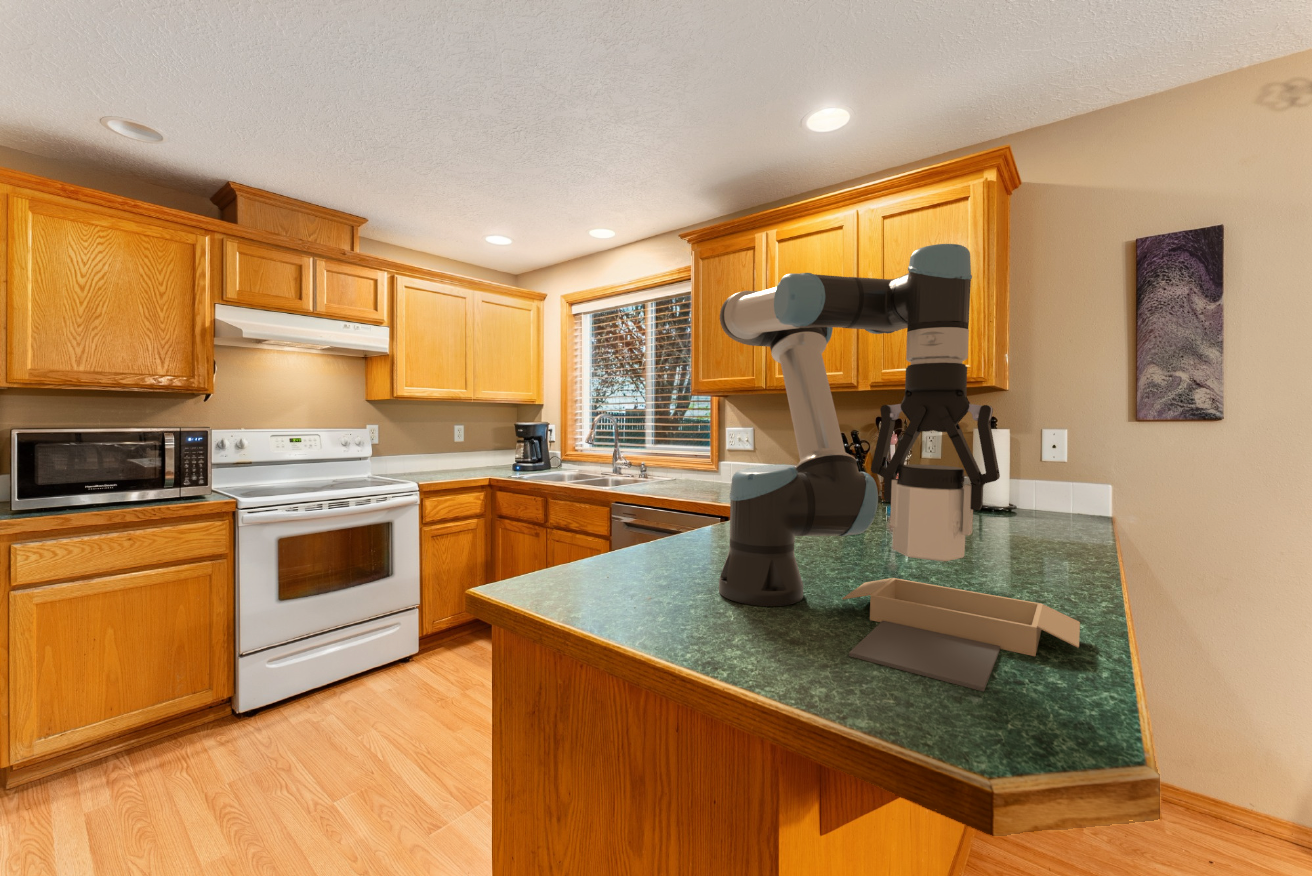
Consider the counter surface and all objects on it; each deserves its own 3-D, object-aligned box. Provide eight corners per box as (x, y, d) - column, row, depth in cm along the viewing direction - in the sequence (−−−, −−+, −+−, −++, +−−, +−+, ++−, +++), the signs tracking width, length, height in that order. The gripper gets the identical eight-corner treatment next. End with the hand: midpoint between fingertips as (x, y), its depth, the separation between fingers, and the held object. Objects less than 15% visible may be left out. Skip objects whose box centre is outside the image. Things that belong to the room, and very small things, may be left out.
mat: (848, 656, 78) (849, 652, 78) (882, 623, 90) (882, 620, 90) (983, 691, 68) (984, 687, 68) (1000, 649, 81) (1000, 646, 81)
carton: (840, 613, 95) (841, 588, 95) (865, 594, 105) (866, 572, 105) (1078, 665, 76) (1079, 635, 76) (1079, 636, 86) (1080, 609, 86)
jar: (937, 564, 73) (941, 470, 72) (881, 551, 80) (884, 465, 79) (974, 556, 78) (978, 468, 77) (918, 544, 85) (921, 463, 84)
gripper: (849, 364, 81) (844, 523, 82) (1026, 356, 68) (1018, 545, 69) (865, 368, 87) (860, 516, 88) (1031, 362, 74) (1023, 535, 75)
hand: (930, 529), depth 79 cm, fingers closed on jar, 8 cm apart
